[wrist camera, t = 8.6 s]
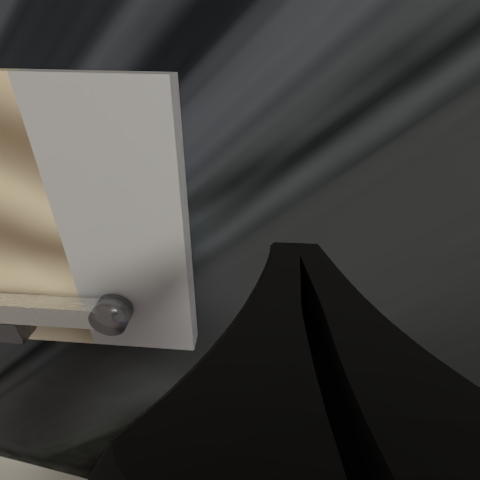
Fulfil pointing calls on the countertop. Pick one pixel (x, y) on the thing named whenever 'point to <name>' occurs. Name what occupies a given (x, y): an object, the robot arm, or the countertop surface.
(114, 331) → the bar
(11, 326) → the block
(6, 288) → the door panel
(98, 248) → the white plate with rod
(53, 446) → the countertop surface
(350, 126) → the countertop surface
